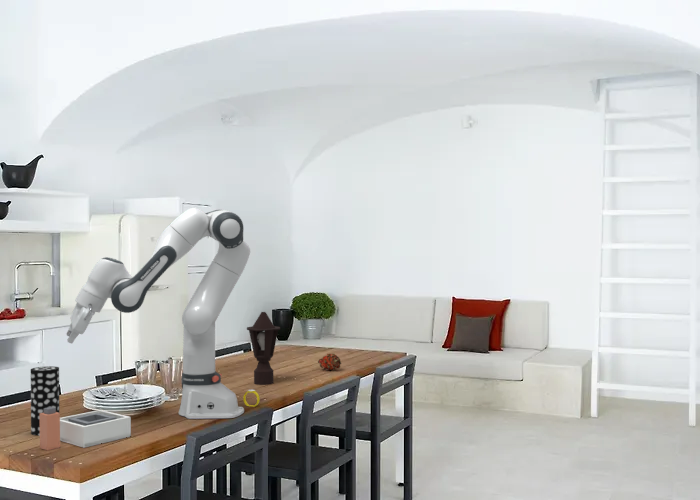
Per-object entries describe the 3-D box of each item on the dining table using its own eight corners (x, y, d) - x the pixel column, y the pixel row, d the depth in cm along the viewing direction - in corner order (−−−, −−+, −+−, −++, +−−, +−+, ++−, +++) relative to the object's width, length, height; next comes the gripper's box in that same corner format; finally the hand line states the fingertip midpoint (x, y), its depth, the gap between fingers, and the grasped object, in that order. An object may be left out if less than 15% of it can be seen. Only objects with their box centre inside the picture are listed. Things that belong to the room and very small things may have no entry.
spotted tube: (63, 428, 242) (62, 366, 242) (54, 435, 234) (53, 370, 233) (37, 429, 242) (36, 366, 241) (26, 435, 233) (26, 370, 233)
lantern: (284, 380, 326) (284, 310, 325) (277, 386, 311) (277, 313, 310) (250, 379, 327) (250, 310, 327) (242, 386, 312) (242, 313, 312)
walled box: (100, 428, 242) (100, 409, 242) (130, 436, 232) (130, 416, 232) (54, 438, 229) (53, 419, 229) (84, 447, 219) (83, 427, 219)
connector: (52, 445, 222) (52, 406, 222) (60, 447, 220) (59, 407, 220) (39, 448, 219) (39, 408, 219) (47, 450, 217) (46, 410, 217)
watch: (260, 406, 275) (261, 390, 275) (256, 408, 272) (257, 392, 272) (245, 404, 277) (246, 388, 277) (241, 406, 274) (242, 389, 274)
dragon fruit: (341, 375, 346) (319, 376, 352) (347, 362, 353) (326, 363, 359) (333, 361, 342) (311, 363, 349) (340, 348, 349) (318, 350, 355)
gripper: (101, 312, 241) (79, 350, 240) (96, 300, 260) (76, 336, 259) (82, 303, 239) (60, 342, 238) (79, 292, 258) (59, 328, 257)
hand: (68, 339), depth 249 cm, fingers open, 8 cm apart
